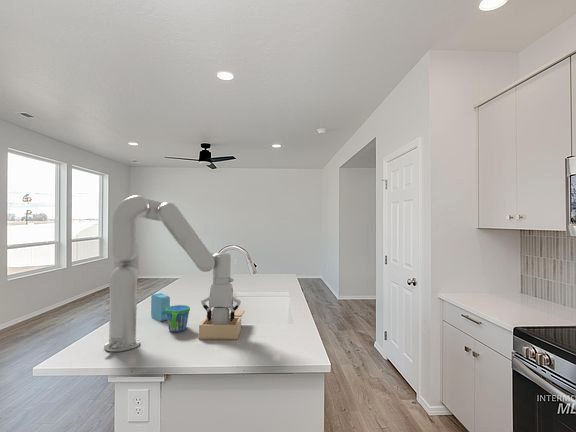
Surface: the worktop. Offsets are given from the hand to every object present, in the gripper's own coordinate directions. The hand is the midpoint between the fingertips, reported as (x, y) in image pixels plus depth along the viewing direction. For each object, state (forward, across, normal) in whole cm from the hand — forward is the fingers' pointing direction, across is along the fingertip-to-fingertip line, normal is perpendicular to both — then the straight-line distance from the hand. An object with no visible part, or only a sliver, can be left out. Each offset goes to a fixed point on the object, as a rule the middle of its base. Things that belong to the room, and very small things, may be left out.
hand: (220, 320), depth 143 cm
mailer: (+6, 0, 0) cm, 6 cm away
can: (+6, 0, 0) cm, 6 cm away
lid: (0, 0, -13) cm, 13 cm away
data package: (+7, +36, -24) cm, 44 cm away
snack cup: (+7, +21, -6) cm, 23 cm away
